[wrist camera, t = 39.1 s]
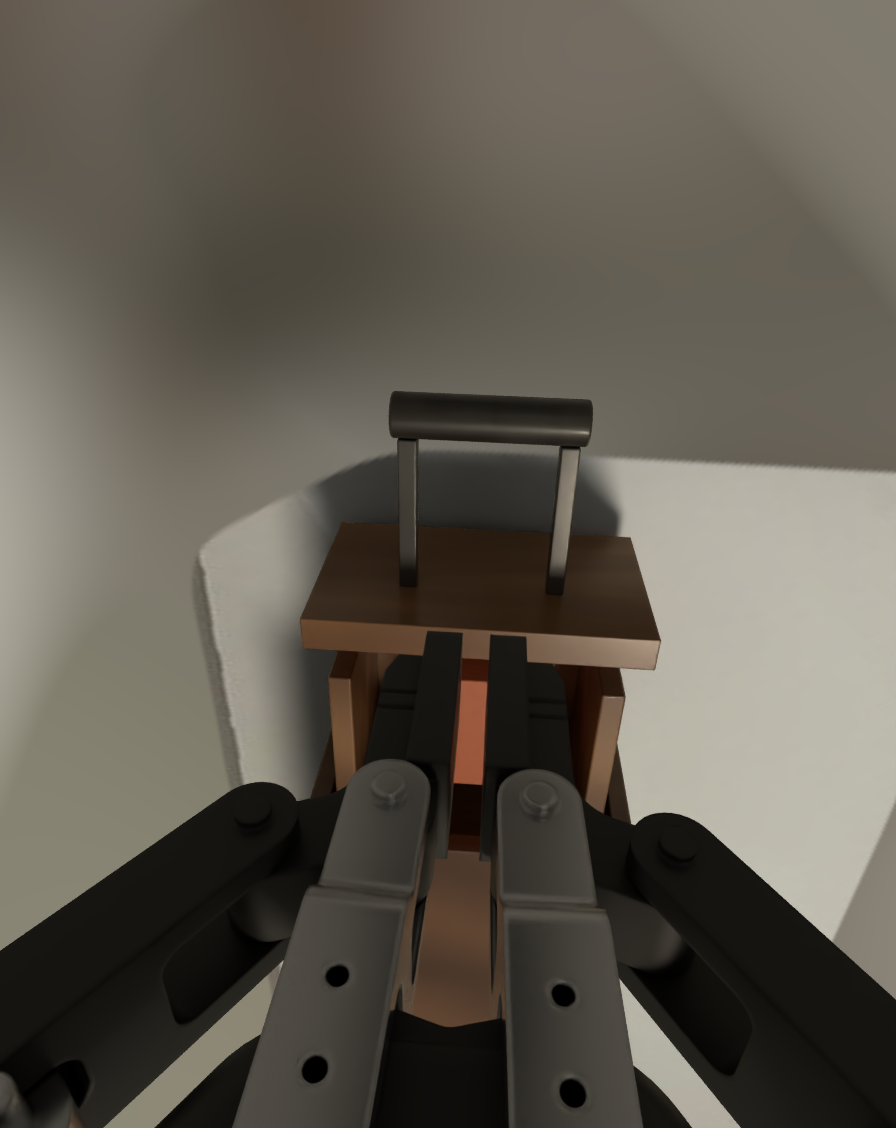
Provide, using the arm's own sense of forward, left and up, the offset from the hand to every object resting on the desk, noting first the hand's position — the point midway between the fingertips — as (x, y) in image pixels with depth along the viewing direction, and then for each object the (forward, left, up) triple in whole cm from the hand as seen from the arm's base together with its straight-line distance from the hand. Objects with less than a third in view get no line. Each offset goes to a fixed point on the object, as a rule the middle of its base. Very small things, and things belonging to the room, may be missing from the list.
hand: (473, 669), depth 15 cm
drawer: (+6, -4, -14) cm, 16 cm away
